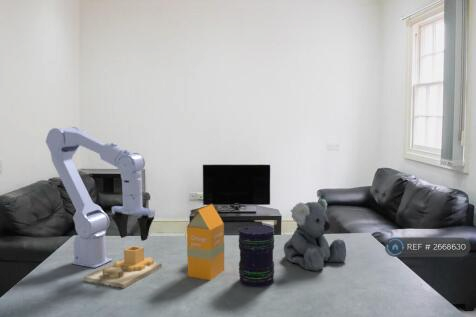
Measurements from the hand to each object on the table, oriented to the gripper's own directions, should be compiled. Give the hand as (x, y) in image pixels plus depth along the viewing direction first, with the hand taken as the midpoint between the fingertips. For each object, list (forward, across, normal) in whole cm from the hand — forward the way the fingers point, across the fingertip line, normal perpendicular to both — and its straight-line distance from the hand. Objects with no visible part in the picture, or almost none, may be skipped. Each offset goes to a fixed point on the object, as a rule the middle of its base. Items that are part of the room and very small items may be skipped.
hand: (133, 238), depth 137 cm
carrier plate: (+9, 0, -5) cm, 11 cm away
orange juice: (+10, +22, +5) cm, 25 cm away
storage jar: (+10, +38, +5) cm, 39 cm away
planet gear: (+8, 0, 0) cm, 8 cm away
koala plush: (+10, +47, +28) cm, 56 cm away
